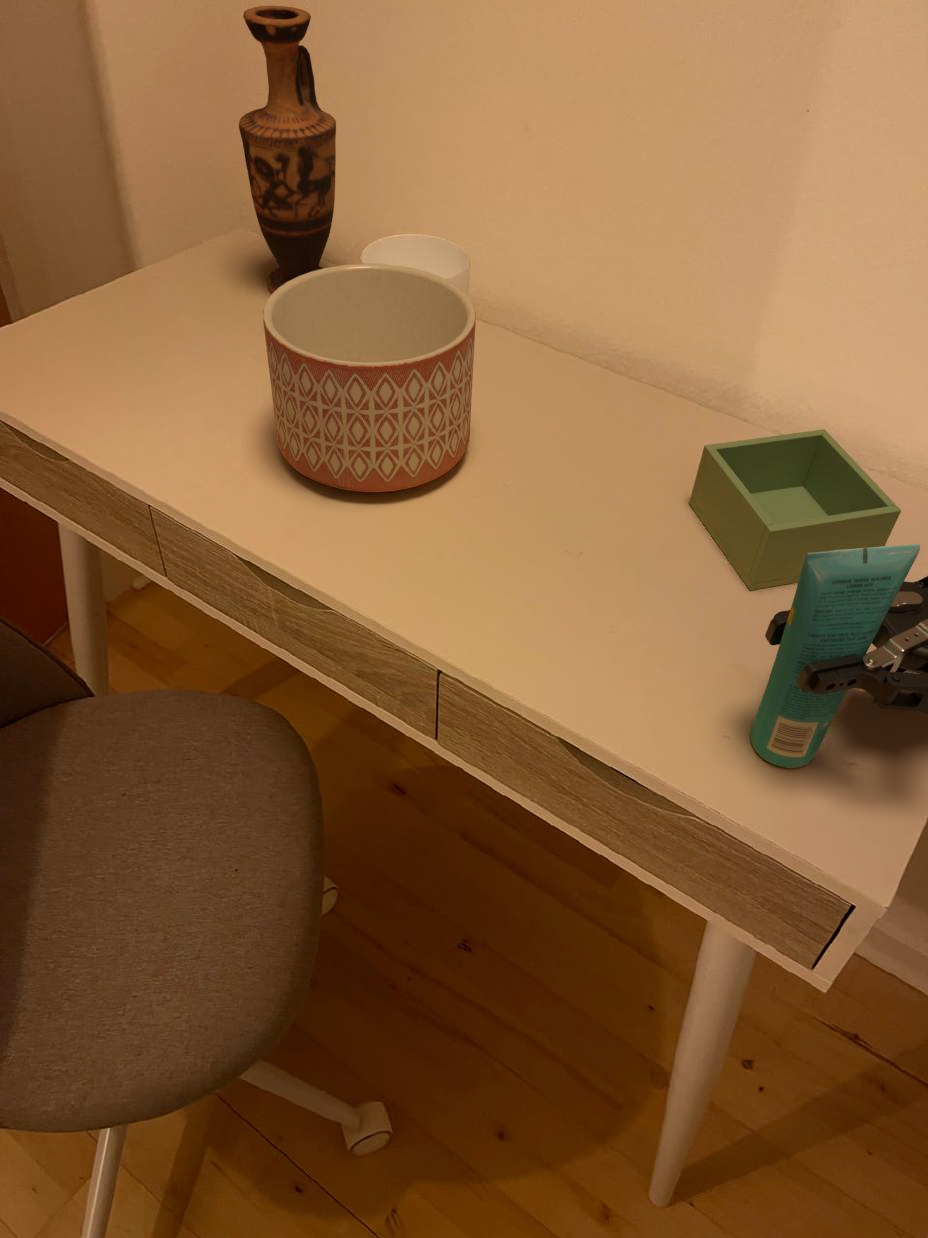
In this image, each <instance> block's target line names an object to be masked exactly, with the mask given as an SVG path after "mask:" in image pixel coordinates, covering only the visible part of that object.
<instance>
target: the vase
mask: <svg viewBox="0 0 928 1238" xmlns="http://www.w3.org/2000/svg"><path fill="white" fill-rule="evenodd" d="M242 16H243V19H244V22H245V24H246V27H247V28H248V30H249V32H250V34H251V36H252V37H253V38H254V40H256V41H257V42H259V43H260V45H261V46H262V50H263V53H264V56H265V63H266V65H265V66H266V75H267V85H268V86H267V87H268V94H267V95H268V96H267V102H266V105H265V106H263V107H261V108H257V109H254V110H250V111H248V112H247V113H245V114H244V115H242V116H241V117H240V118H239V121H238V130H239V133H240V138H241V142H242V147H243V153H244V161H245V165H246V170H247V176H248V177H247V178H248V182H249V188H250V195H251V199H252V203H253V208H254V211H255V215H256V218H257V222H258V226H259V229H260V231H261V234H262V236H263V239H264V240H265V243H266V244H267V247H268V249H269V251H270V252H271V254H272V255H273V258H274V259H275V262H276V263H277V265H278V267H277V268H275V269H274V270H272V271H271V273H270V274H269V275H268V278H267V288H268V290H269V292H270V293H271V294H273V293H274V292H275V291H276V290H277V289H278V288H279V287H281V286H282V285H283V284H285V283H286V282H288V281H290V280H292V279H294V278H296V277H298V276H301V275H303V274H306V273H309V272H312V271H316V270H319V269H323V268H324V267H323V266H321V265H320V264H321V260H322V257H323V254H324V252H325V249H326V246H327V243H328V240H329V238H330V234H331V229H332V223H333V217H334V211H335V199H336V166H337V165H336V163H337V159H336V158H337V157H336V156H337V155H336V154H337V153H336V152H337V151H336V149H337V147H336V146H337V144H336V143H337V142H336V138H337V120H336V118H335V117H334V116H332V115H331V114H330V113H328V112H326V111H324V110H322V108H321V106H320V105H319V103H318V100H317V95H316V89H315V88H316V86H315V75H314V71H313V65H312V59H311V54H310V52H309V50H308V49H307V47H305V46H304V45H301V44H300V43H301V41H303V39H304V38H305V36H306V34H307V32H308V29H309V26H310V22H311V19H312V18H311V17H312V16H311V14H310V13H309V12H308V11H306V10H305V9H302V8H299V7H293V6H285V5H284V6H283V5H260V6H253V7H250V8H248V9H246V10H244V12H243V14H242Z"/></svg>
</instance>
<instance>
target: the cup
mask: <svg viewBox="0 0 928 1238" xmlns="http://www.w3.org/2000/svg"><path fill="white" fill-rule="evenodd" d="M359 264H388V265H397V266H403V267H409V268H414V269H418V270H421V271H425V272H429V273H431V274H434V275H437V276H439V277H441V278H443V279H445V280H447V281H449V282H451V283H453V284H454V285H456V286H457V287H459V288H460V289H461V290H462V291H463V292H464V293H465V294H466V295H467V296H468V297H469V298H470V296H469V295H470V276H471V256H470V255H469V253H468V252H467V251H466V249H464V247H463V246H461V245H460V244H458V243H456V242H454V241H452V240H450V239H447V238H443V237H440V236H435V235H430V234H420V233H405V234H395V235H390V236H385V237H382V238H378V239H376V240H375V241H372V242H370V243H369V244H367V245H366V246H365V247H364V248H363V249H362V251H361V253H360V255H359Z"/></svg>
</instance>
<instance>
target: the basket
mask: <svg viewBox="0 0 928 1238" xmlns="http://www.w3.org/2000/svg"><path fill="white" fill-rule="evenodd" d="M688 504H689V506H690V508H691V509H692V510H693V512H694V513H695V515H696V516H697V517H698V519H699V520H700V521H701V523H702V525H703V526H704V528H705V529H706V530H707V531H708V533H709V535H710V536H711V537H712V538H713V540H714V541H715V543H716V544H717V546H718V547H719V549H720V550H721V552H722V553H723V555H724V556H725V557H726V559H727V560H728V562H729V563H730V564H731V566H732V567H733V569H734V570H735V571H736V573H737V574H738V576H739V577H740V579H741V580H742V582H743V583H744V584H745V586H746V588H747V589H748V590H749V591H756V590H761V589H766V588H772V587H778V586H785V585H789V584H797V583H798V582H799V579H800V575H801V571H802V568H803V563H804V560H805V557H806V555H807V553H815V552H827V551H833V550H842V549H856V548H870V547H881V546H886V544H887V542H888V540H889V538H890V536H891V533H892V532H893V529H894V527H895V525H896V523H897V521H898V518H899V516H900V514H901V513H902V510H901V509H900V507H899V506H898V505H897V504H896V503H895V502H894V501H893V500H892V498H890V497H889V496H888V495H887V493H885V491H884V490H883V489H882V488H881V487H880V486H879V485H878V484H877V483H876V482H875V481H874V480H873V479H872V478H871V477H870V476H869V474H868V473H866V471H865V470H864V469H863V468H862V467H861V466H860V465H859V464H858V462H857V461H855V460H854V458H852V456H851V455H850V454H849V453H848V452H847V451H846V450H845V449H844V448H843V446H842V445H840V444H839V442H837V440H835V438H834V437H833V436H832V435H831V434H830V433H829V432H828V431H827V430H826V429H824V428H823V429H816V430H809V431H801V432H794V433H793V432H792V433H786V434H779V435H771V436H764V437H755V438H749V439H743V440H742V439H741V440H735V441H728V442H719V443H713V444H712V443H711V444H705V445H704V446H703V450H702V453H701V457H700V460H699V464H698V468H697V472H696V475H695V478H694V483H693V487H692V491H691V495H690V498H689V501H688Z"/></svg>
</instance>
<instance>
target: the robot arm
mask: <svg viewBox="0 0 928 1238" xmlns="http://www.w3.org/2000/svg"><path fill="white" fill-rule="evenodd" d="M789 613H790V609H788V610H782V611H779V612H777V613H775V614H774V616H773V618H772V619H771V620H770V622H769V624H768V626H767V629H766V632H765V634H764V638H765V639H766V640H767V642H768V644H769V645H770V646H780V642H781V639H782V636H783V633H784V629H785V626H786V623H787V619H788V616H789ZM871 645H873V646H874V647H875V649H873V650H871V651H869V652H867V653H866V654H865V655H864V656H863V657H862V659H858V658H857V656H856V655H855V654H853V655H848V656H843V657H838V658H832V659H827V660H822V661H817V662H812V663H809V664H807V665H806V666H805V667H804V668H803V669H802V672H801V674H800V676H799V678H798V681H797V684H798V686H799V687H800V689H801V690H802V691H803V692H804V693H807V692H813V693H814V694H820V695H824V694H829V693H833V692H838V691H843V690H853V689H854V690H856V691H858V692H867V693H868V694H870V695H871V696H872V697H873V699H872V701H873V704H874V706H875V707H876V708H878V709H881V710H884V711H895V712H906V713H919V714H928V575H927V576H925V577H923V578H921V579H919V580H916V581H905V580H904V582H903V584H902V586H901V588H900V589H899V591H898V593H897V595H896V597H895V599H894V601H893V603H892V605H891V606H890V608H889V610H888V612H887V614H886V616H885V618H884V620H883V622H882V624H881V626H880V628H879V630H878V632H877V633H876V635H875V637H874V639H873V641H872V643H871Z"/></svg>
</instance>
